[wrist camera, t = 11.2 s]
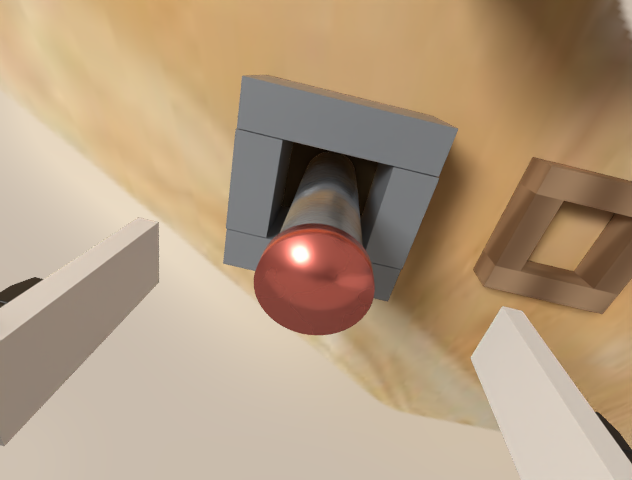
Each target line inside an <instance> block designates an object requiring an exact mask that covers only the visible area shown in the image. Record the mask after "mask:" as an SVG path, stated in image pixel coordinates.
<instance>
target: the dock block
mask: <svg viewBox="0 0 632 480" xmlns="http://www.w3.org/2000/svg"><path fill="white" fill-rule="evenodd" d="M457 131H458V128H456V127H454V126H452V125H450V124H448V123H446V122H444V121H442V120H440V119H438V118H436V117H434V116H431V115H427V114H423V113H419V112H415V111H411V110H407V109H403V108H399V107H395V106H391V105H387V104H382V103H378V102H374V101H370V100H366V99H362V98H358V97H354V96H350V95H346V94H342V93H338V92H334V91H330V90H326V89H322V88H318V87H314V86H310V85H305V84H301V83H297V82H293V81H289V80H285V79H281V78H277V77H273V76H269V75H246V76H242V83H241V93H240V103H239V113H238V123H237V129H236V132H235V142H234V152H233V162H232V172H231V182H230V192H229V202H228V212H227V223H226V228H227V232H226V242H225V252H224V262H223V264H227V265H232V266H236V267H240V268H245V269H249V270H254V271H256V268H257V265H258V263H259V261H260V259H261V256H262V254H263V252H264V250H265V248H266V247H267V245H268V244H269V243H270V241H271V240H272V239H273V238H274V237H275V236H277V235H278V234H279V233H280V231H281V229H282V226H283V224H284V221H285V219H286V217H287V214H288V212H289V209H290V208H288V207H284V206H282V203H283V197H284V192H285V186H286V181H287V175H288V170H289V164H290V159H291V153H292V148H293V143H294V142H297V143H301V144H305V145H309V146H313V147H317V148H321V149H325V150H330V151H334V152H338V153H342V154H346V155H350V156H354V157H359V158H363V159H367V160H371V161H375V162H378V165H377V169H376V172H375V175H374V178H373V182H372V185H371V188H370V191H369V194H368V198H367V201H366V204H365V207H364V210H363V214H362V217H361V220H360V223H361V233H362V244H363V247H364V249H365V250H366V252H367V253H368V255H369V258H370V260H371V264H372V269H373V276H374V285H375V292H374V298H375V299H379V300H384V301H388V300H389V298H390V295H391V293H392V290H393V288H394V285H395V283H396V281H397V278H398V276H399V273H400V271H401V269H402V268H403V266H404V263H405V261H406V258H407V256H408V254H409V251H410V249H411V246H412V244H413V241H414V239H415V236H416V234H417V232H418V229H419V227H420V224H421V222H422V219H423V217H424V214H425V212H426V210H427V207H428V205H429V202H430V200H431V197H432V195H433V192H434V190H435V188H436V185H437V183H438V180H439V175H440V173H441V170H442V168H443V165H444V163H445V160H446V158H447V155H448V153H449V151H450V148H451V146H452V143H453V141H454V138H455V136H456V133H457Z"/></svg>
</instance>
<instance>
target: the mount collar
mask: <svg viewBox="0 0 632 480" xmlns="http://www.w3.org/2000/svg"><path fill="white" fill-rule="evenodd" d="M563 201H568V202H572V203H576V204H580V205H584V206H588V207H592V208H596V209H601V210H605V211H609V212H613V213H615V215H614V216H613V217H612V219H611V220H610V222H609V223H608V224H607V226H606V227H605V229H604V230H603V232H602V233H601V234H600V236H599V237H598V239H597V240H596V241H595V243H594V244H593V246H592V247H591V248H590V250H589V251H588V253H587V254H586V256H585V257H584V258H583V260H582V261H581V263H580V264H579V265H578V267H577V268H576V270H575V271H569V270H565V269H561V268H557V267H552V266H548V265H544V264H540V263H535V262H531V261H527V260H528V258H529V257H530V255H531V253H532V252H533V250H534V248H535V247H536V245H537V244H538V242H539V240H540V239H541V237H542V235H543V234H544V232H545V231H546V229H547V227H548V226H549V224H550V222H551V221H552V219H553V218H554V216H555V214H556V213H557V211H558V209H559V208H560V206H561V205H562V203H563ZM473 270H474V272H475V273H476V275H477V277H478V278H479V280H480V281H481V283H482V284H483V286H484V287H489V288H493V289H497V290H502V291H506V292H510V293H514V294H519V295H523V296H527V297H531V298H536V299H540V300H544V301H549V302H553V303H557V304H561V305H566V306H570V307H574V308H579V309H583V310H587V311H591V312H596V313H600V314H603V313H604V312H605V310H606V309H607V308H608V307H609V305H610V304H611V303H612V302H613V301H614V299H615V298H616V297H617V296H618V294H619V293H620V292H621V291H622V290H623V288H624V287H625V286H626V285H627V283H628V282H629V281H630V280H631V279H632V181H628V180H624V179H620V178H616V177H612V176H608V175H604V174H600V173H596V172H591V171H587V170H583V169H579V168H575V167H571V166H567V165H563V164H559V163H555V162H551V161H547V160H543V159H539V158H534V157H533V158H532V160H531V162H530V164H529V166H528V167H527V169H526V171H525V173H524V175H523V177H522V179H521V181H520V182H519V184H518V186H517V188H516V190H515V192H514V194H513V196H512V197H511V199H510V201H509V203H508V205H507V207H506V209H505V211H504V213H503V214H502V216H501V218H500V220H499V222H498V224H497V226H496V228H495V229H494V231H493V233H492V235H491V237H490V239H489V241H488V243H487V244H486V246H485V248H484V250H483V252H482V254H481V256H480V258H479V260H478V261H477V263H476V265H475V267H474V269H473Z"/></svg>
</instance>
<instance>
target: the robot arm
mask: <svg viewBox="0 0 632 480" xmlns="http://www.w3.org/2000/svg"><path fill="white" fill-rule="evenodd" d="M158 283H159V222H156V221H152V220H148V219H143V218H139V217H138V218H137V219H135V220H133V221H132V222H130V223H129V224H127V225H126V226H124V227H123V228H122V229H120V230H118V231H117V232H115V233H114V234H112V235H111V236H109V237H107V238H106V239H104V240H103V241H101V242H100V243H99V244H97V245H95V246H94V247H92V248H91V249H89V250H88V251H86V252H85V253H83V254H82V255H80V256H79V257H77V258H76V259H74V260H72V261H71V262H69V263H68V264H66V265H65V266H63V267H62V268H60V269H59V270H57V271H56V272H54V273H53V274H51V275H50V276H48V277H47V278H45V279H40V278H36V277H34V278H31V279H28V280H25V281H23V282H20V283H17V284H14V285H12V286H10V287H8V288H6V289H5V290H3V291H2V292H0V445H2V446H5V445H6V444H7V443H8V442H9V441H10V440H11V439H12V437H13V436H14V435H15V434H16V433H17V432H18V431H19V430H20V429H21V428H22V427H23V426H24V425H25V424H26V423H27V421H28V420H29V419H30V418H31V417H32V416H33V415H34V414H35V413H36V412H37V411H38V410H39V408H41V406H43V405H44V403H45V402H46V401H47V400H48V399H49V398H50V397H51V396H52V395H53V394H54V393H55V392H56V391H57V390H58V389H59V388H60V386H62V384H63V383H64V382H65V381H66V380H67V379H68V378H69V377H70V376H71V375H72V374H73V373H74V372H75V371H76V370H77V368H78V367H79V366H80V365H81V364H82V363H83V362H84V361H85V360H86V359H87V358H88V357H89V356H90V355H91V353H93V352H94V350H95V349H96V348H97V347H98V346H99V345H100V344H101V343H102V342H103V341H104V340H105V339H106V338H107V337H108V336H109V335H110V334H111V332H112V331H113V330H114V329H115V328H116V327H117V326H118V325H119V324H120V323H121V322H122V321H123V320H124V319H125V318H126V317H127V315H128V314H129V313H130V312H131V311H132V310H133V309H134V308H135V307H136V306H137V305H138V304H139V303H140V302H141V301H142V300H143V299H144V297H145V296H146V295H147V294H148V293H149V292H150V291H151V290H152V289H153V288H154V287H155V286H156V285H157V284H158ZM471 360H472V363H473V365H474V368H475V370H476V373H477V375H478V377H479V380H480V382H481V385H482V387H483V389H484V392H485V394H486V397H487V399H488V402H489V404H490V406H491V409H492V411H493V414H494V416H495V418H496V421H497V423H498V426H499V428H500V431H501V433H502V435H503V438H504V440H505V443H506V445H507V447H508V450H509V452H510V455H511V457H512V460H513V462H514V464H515V467H516V469H517V471H518V474H519V476H520V479H521V480H632V449H631V448H630V447H629V445H628V444H627V443H626V441H625V440H624V438H623V437H622V436H621V434H620V433H619V432H618V431H617V430H616V429H615V428H614V427H613V426H612V425H611V424H610V423H609V422H608V421H607V420H606V419H605V418H604V417H603V416H602V415H601V414H600V413H598V412H594V410H593V409H592V408H591V406H590V405H589V403H588V402H587V401H586V399H585V398H584V397H583V395H582V394H581V392H580V391H579V390H578V388H577V387H576V385H575V384H574V383H573V381H572V380H571V378H570V377H569V376H568V374H567V373H566V371H565V370H564V369H563V367H562V366H561V364H560V363H559V362H558V360H557V359H556V357H555V356H554V355H553V353H552V352H551V350H550V349H549V348H548V346H547V345H546V343H545V342H544V341H543V339H542V338H541V336H540V335H539V334H538V332H537V331H536V330H535V328H534V327H533V325H532V324H531V323H530V321H529V320H528V318H527V317H526V316H525V314H524V313H523V311H520V310H516V309H512V308H508V307H504V306H502V307H501V309H500V311H499V312H498V314H497V315H496V317H495V319H494V320H493V322H492V324H491V325H490V327H489V328H488V330H487V332H486V333H485V335H484V336H483V338H482V340H481V341H480V343H479V345H478V346H477V348H476V349H475V351H474V353H473V354H472V356H471Z"/></svg>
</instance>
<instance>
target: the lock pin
mask: <svg viewBox="0 0 632 480" xmlns="http://www.w3.org/2000/svg"><path fill="white" fill-rule="evenodd" d="M254 289H255V294H256V297H257V299H258V302H259V303H260V305H261V307H262V308H263V310H264V311H265V312H266V313H267V314H268V315H269V316H270V317H271V318H272V319H273V320H274V321H276V322H277V323H279V324H280V325H282V326H283V327H285V328H287V329H290V330H292V331H295V332H298V333H302V334H308V335H328V334H333V333H337V332H340V331H343V330H345V329H347V328H350V327H351V326H353V325H354V324H356V323H357V322H358V321H359V320H361V319H362V318H363V317H364V315H365V314H366V313H367V311H368V310H369V308H370V306H371V304H372V301H373V298H374V292H375V285H374V276H373V269H372V264H371V260H370V258H369V255H368V253H367V252H366V250H365V249H364V247H363V244H362V233H361V223H360V212H359V201H358V191H357V180H356V171H355V168H354V166H353V164H352V162H351V161H350V160H349V159H348V158H347V157H346V156H344V155H343V154H340V153H338V152H324V153H321V154H319V155H317V156H315V157H314V158H313V159H312V160H311V161H310V163H309V164H308V166H307V168H306V171H305V173H304V176H303V178H302V180H301V183H300V185H299V188H298V190H297V193H296V195H295V197H294V200H293V202H292V205H291V207H290V209H289V212H288V214H287V217H286V219H285V221H284V224H283V226H282V229H281V231H280V233H279V234H278V235H277V236H275V237H274V238H273V239H272V240H271V241H270V243H269V244H268V245H267V247H266V248H265V250H264V252H263V254H262V256H261V259H260V261H259V263H258V265H257V268H256V271H255V275H254Z"/></svg>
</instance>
